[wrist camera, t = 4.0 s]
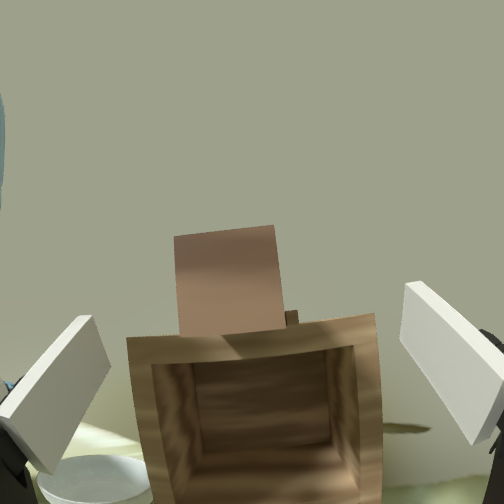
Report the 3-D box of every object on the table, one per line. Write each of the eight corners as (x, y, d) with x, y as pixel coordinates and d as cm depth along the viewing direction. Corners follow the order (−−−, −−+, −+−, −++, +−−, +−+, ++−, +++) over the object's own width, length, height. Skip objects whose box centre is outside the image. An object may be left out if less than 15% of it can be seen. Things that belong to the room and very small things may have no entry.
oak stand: (370, 589, 14) (372, 299, 21) (190, 603, 14) (125, 324, 22) (344, 527, 28) (332, 309, 35) (210, 539, 28) (176, 325, 35)
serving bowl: (136, 475, 48) (130, 447, 50) (187, 519, 33) (180, 486, 35) (41, 487, 34) (32, 457, 36) (59, 546, 20) (43, 509, 21)
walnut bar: (286, 328, 11) (273, 224, 12) (180, 337, 11) (173, 236, 12) (272, 326, 35) (268, 291, 36) (237, 329, 35) (233, 294, 36)
